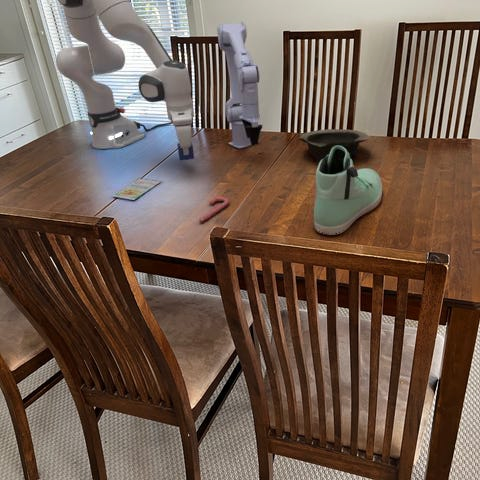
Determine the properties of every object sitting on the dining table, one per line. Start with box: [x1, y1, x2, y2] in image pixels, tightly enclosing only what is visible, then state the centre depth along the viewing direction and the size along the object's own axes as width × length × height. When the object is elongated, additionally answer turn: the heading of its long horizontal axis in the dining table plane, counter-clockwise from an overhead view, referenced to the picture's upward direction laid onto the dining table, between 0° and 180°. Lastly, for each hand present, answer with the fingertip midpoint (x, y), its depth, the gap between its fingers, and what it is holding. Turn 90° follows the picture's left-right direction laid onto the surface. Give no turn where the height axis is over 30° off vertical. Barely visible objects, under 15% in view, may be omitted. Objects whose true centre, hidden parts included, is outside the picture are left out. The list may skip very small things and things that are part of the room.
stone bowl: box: [298, 128, 371, 163], centre depth 172 cm, size 25×25×9 cm
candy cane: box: [198, 196, 230, 223], centre depth 143 cm, size 6×15×2 cm, turn 145°
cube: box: [176, 141, 195, 162], centre depth 168 cm, size 5×5×5 cm
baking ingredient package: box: [112, 178, 161, 201], centre depth 160 cm, size 9×1×15 cm
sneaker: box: [313, 146, 383, 236], centre depth 133 cm, size 14×35×20 cm, turn 152°
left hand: (185, 151), depth 168 cm, fingers closed on cube, 5 cm apart
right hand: (252, 140), depth 171 cm, fingers open, 7 cm apart
